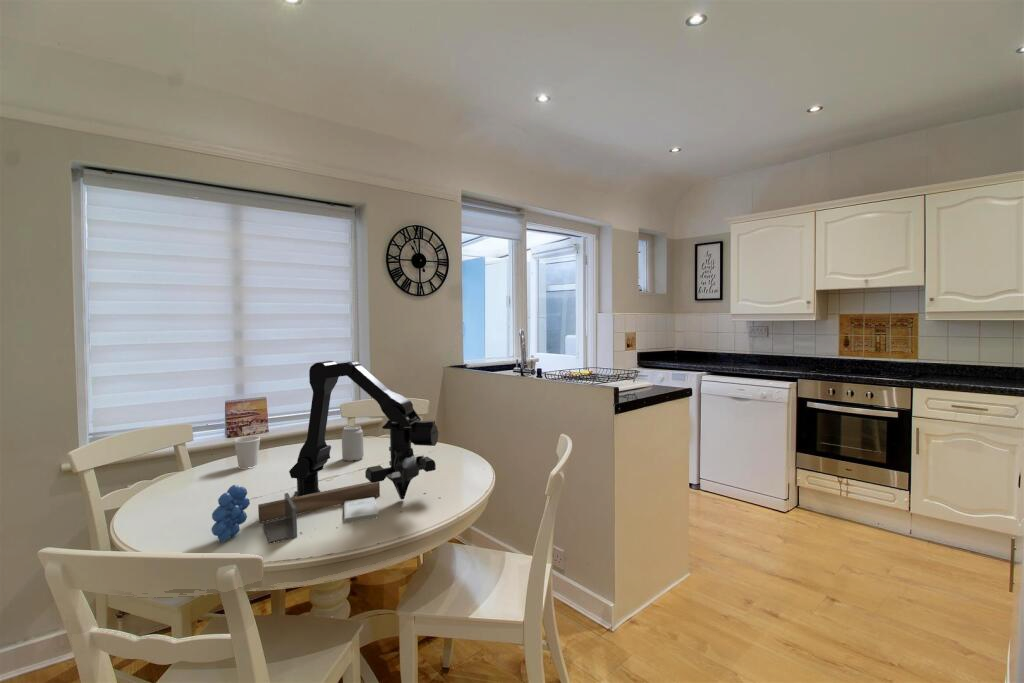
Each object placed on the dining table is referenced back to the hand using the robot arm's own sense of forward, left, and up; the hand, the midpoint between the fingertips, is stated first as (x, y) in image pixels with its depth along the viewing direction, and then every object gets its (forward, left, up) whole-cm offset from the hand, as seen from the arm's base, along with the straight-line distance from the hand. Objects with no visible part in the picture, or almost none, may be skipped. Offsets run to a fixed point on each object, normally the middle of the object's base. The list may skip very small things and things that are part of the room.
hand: (402, 498), depth 133 cm
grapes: (-3, -42, -1) cm, 42 cm away
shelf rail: (-8, -19, 0) cm, 21 cm away
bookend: (+1, -31, -1) cm, 31 cm away
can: (-50, 0, -1) cm, 50 cm away
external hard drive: (0, -12, -1) cm, 12 cm away
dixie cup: (-63, -33, -1) cm, 71 cm away
